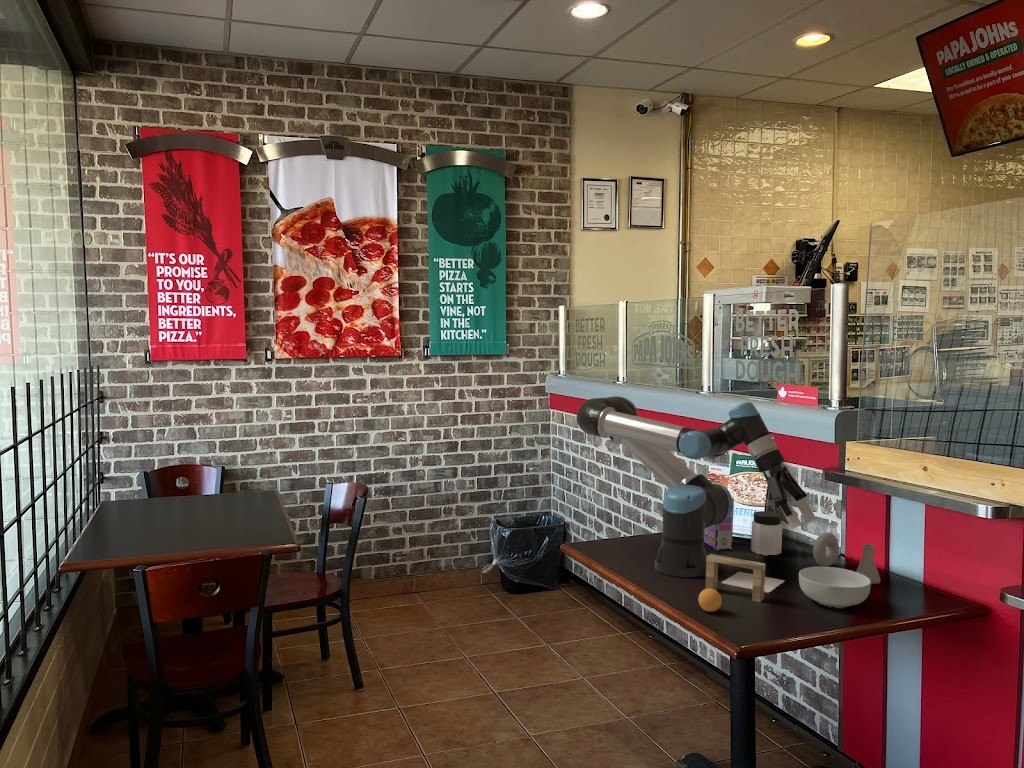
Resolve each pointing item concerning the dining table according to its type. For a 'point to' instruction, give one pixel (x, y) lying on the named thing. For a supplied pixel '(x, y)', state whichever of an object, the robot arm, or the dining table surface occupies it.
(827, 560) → the donut
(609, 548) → the dining table surface
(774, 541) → the jar
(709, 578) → the bridge
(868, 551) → the flask
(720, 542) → the candy box
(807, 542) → the dining table surface
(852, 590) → the cereal bowl
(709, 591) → the ball
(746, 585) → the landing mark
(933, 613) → the dining table surface
